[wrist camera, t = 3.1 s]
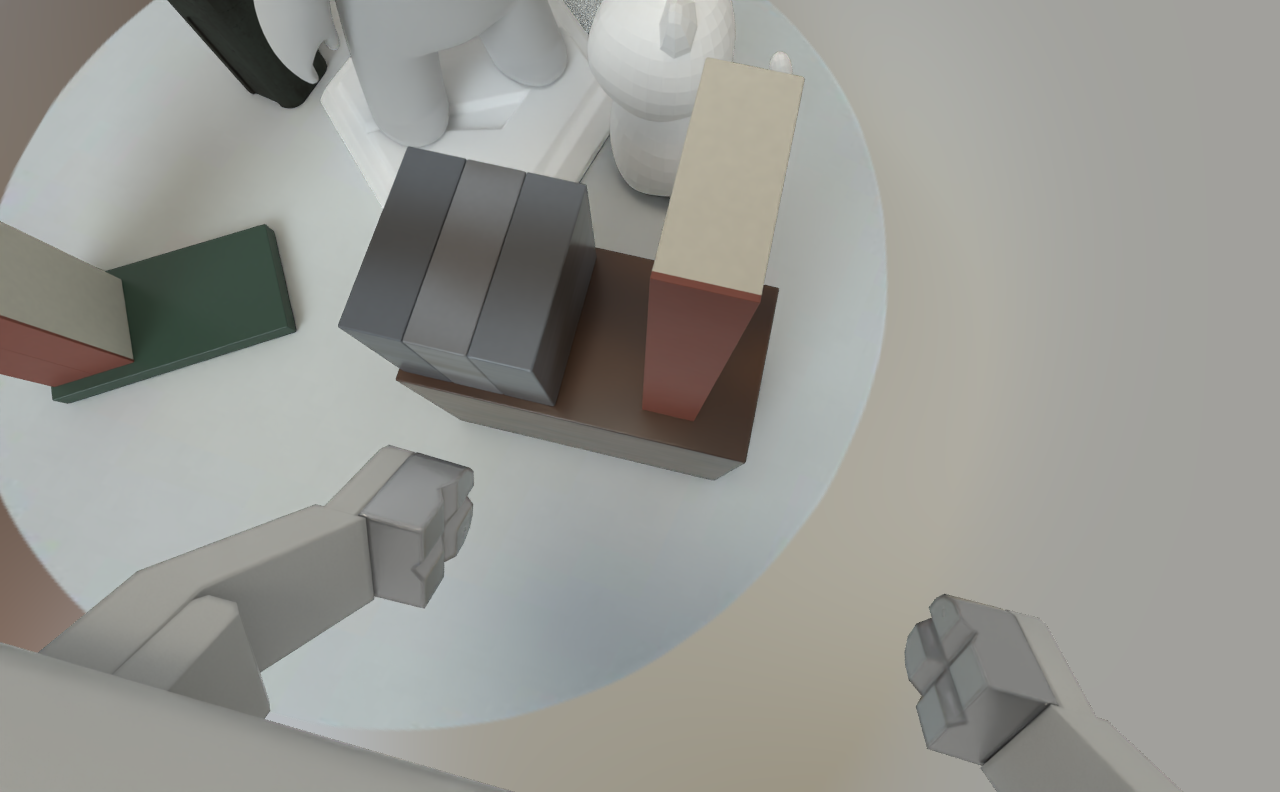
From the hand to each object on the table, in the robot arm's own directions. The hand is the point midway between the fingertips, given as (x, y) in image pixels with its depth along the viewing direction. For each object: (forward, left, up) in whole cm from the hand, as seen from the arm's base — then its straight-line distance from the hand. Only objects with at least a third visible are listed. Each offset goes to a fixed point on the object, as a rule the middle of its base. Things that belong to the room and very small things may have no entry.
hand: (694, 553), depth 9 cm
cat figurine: (+27, +4, -26) cm, 37 cm away
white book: (+9, +1, -15) cm, 18 cm away
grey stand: (+9, +5, -25) cm, 27 cm away
